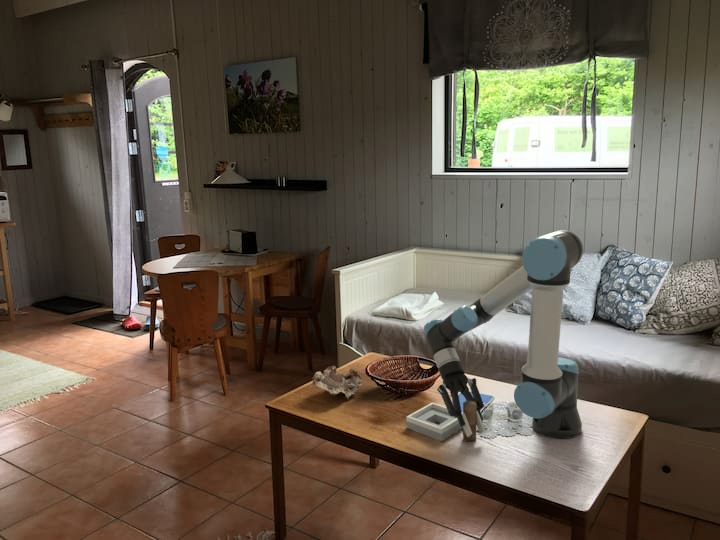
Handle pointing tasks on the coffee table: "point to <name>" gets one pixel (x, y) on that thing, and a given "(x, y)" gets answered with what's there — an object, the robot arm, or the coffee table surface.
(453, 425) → the tray
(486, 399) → the blue rectangular panel
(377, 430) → the coffee table surface
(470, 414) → the peg
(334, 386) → the mineral formation
